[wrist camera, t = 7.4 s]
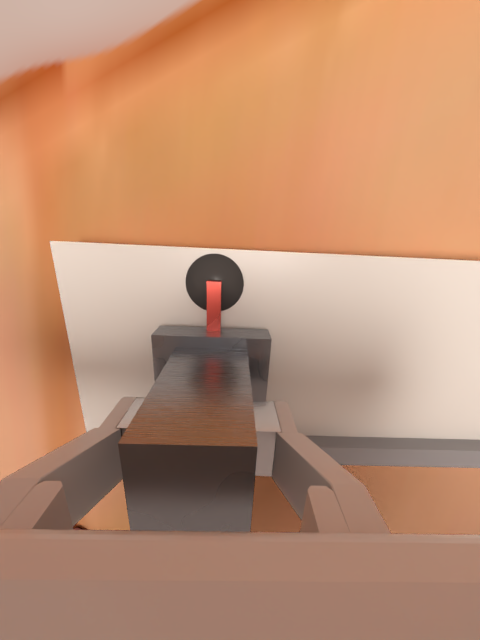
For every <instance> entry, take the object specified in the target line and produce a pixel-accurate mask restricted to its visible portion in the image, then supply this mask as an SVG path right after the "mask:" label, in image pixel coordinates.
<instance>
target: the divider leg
mask: <svg viewBox="0 0 480 640" xmlns="http://www.w3.org/2000/svg"><path fill="white" fill-rule="evenodd" d="M221 293H222V281H220V280H207V327H188V326H161V325H160V326H159V327H158V328H157V329H156V330H155V331H154V332H153V333H152V334H151V341H152V354H153V367H154V380H155V383H154V384H153V386H152V388H151V389H150V391H149V393H148V394H147V396H146V398H145V399H144V401H143V403H142V404H141V406H140V408H139V409H138V411H137V413H136V414H135V416H134V417H133V419H132V421H131V422H130V424H129V426H128V427H127V429H126V431H125V432H124V434H123V436H122V437H121V439H120V441H119V442H118V448H119V455H120V462H121V469H122V476H123V482H124V489H125V496H126V503H127V510H128V517H129V524H130V530H137V531H224V532H250V529H251V518H252V506H253V494H254V483H255V471H256V460H257V448H258V445H257V436H256V427H255V417H254V408H253V401H266V395H267V384H268V374H269V363H270V352H271V342H272V339H271V336H270V334H269V331H268V329H241V328H221Z"/></svg>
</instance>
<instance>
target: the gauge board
mask: <svg viewBox="0 0 480 640" xmlns="http://www.w3.org/2000/svg"><path fill="white" fill-rule="evenodd" d="M50 246H51V251H52V256H53V261H54V266H55V272H56V277H57V282H58V287H59V292H60V298H61V303H62V308H63V313H64V318H65V324H66V329H67V334H68V339H69V344H70V350H71V355H72V360H73V365H74V370H75V376H76V381H77V386H78V391H79V396H80V402H81V407H82V412H83V417H84V422H85V427H86V432H88V431H89V430H91V429H93V428H99V427H100V426H101V424H102V423H103V422H104V420H105V419H106V418H107V416H108V415H109V414H110V412H111V411H112V410H113V409H114V407H115V406H116V405H117V403H118V402H119V401H120V399H121V398H123V397H125V396H127V397H146V396H147V394H148V393H149V391H150V389H151V388H152V386H153V384H154V383H155V380H154V367H153V354H152V341H151V334H152V333H153V332H154V331H155V330H156V329H157V328H158V327H159V326H160V325H161V326H188V327H207V280H220V281H222V293H221V328H241V329H268V331H269V334H270V336H271V339H272V342H271V352H270V363H269V374H268V384H267V395H266V401H287V402H288V405H289V408H290V411H291V414H292V417H293V420H294V422H295V425H296V428H297V431H298V433H303V434H304V435H305V436H306V437H307V438H309V439H310V440H311V441H312V442H313V443H315V444H316V445H317V446H318V447H319V448H321V449H322V450H323V451H324V452H325V453H327V454H328V455H329V456H330V457H331V458H333V459H334V460H335V461H336V462H337V463H339V464H340V465H362V466H411V467H459V468H480V261H476V260H455V259H434V258H412V257H391V256H370V255H349V254H327V253H306V252H285V251H264V250H242V249H221V248H200V247H178V246H157V245H136V244H115V243H93V242H68V241H50Z"/></svg>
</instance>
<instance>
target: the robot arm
mask: <svg viewBox="0 0 480 640" xmlns="http://www.w3.org/2000/svg"><path fill="white" fill-rule="evenodd" d="M145 398H146V397H127V396H125V397H123V398H121V399H120V401H119V402H118V403H117V405H116V406H115V407H114V409H113V410H112V411H111V412H110V414H109V415H108V416H107V418H106V419H105V420H104V422H103V423H102V424H101V426H100V427H99V428H93V429H91V430H89V431H88V432H86V433H84V434H82V435H80V436H79V437H77V438H75V439H73V440H72V441H70V442H68V443H66V444H64V445H63V446H61V447H59V448H57V449H55V450H54V451H52V452H50V453H48V454H46V455H45V456H43V457H41V458H39V459H37V460H36V461H34V462H32V463H30V464H28V465H27V466H25V467H23V468H21V469H19V470H18V471H16V472H14V473H12V474H10V475H9V476H7V477H5V478H3V479H2V480H1V481H0V640H480V535H470V534H391V533H390V531H389V529H388V527H387V525H386V523H385V522H384V520H383V518H382V516H381V514H380V512H379V510H378V509H377V507H376V505H375V503H374V501H373V499H372V497H371V496H370V494H369V492H368V490H367V488H366V486H365V485H364V484H363V483H361V482H360V481H359V480H358V479H357V478H355V477H354V476H353V475H352V474H351V473H349V472H348V471H347V470H346V469H345V468H343V467H342V466H341V465H340V464H339V463H337V462H336V461H335V460H334V459H333V458H331V457H330V456H329V455H328V454H327V453H325V452H324V451H323V450H322V449H321V448H319V447H318V446H317V445H316V444H315V443H313V442H312V441H311V440H310V439H309V438H307V437H306V436H305V435H304V434H303V433H298V431H297V428H296V425H295V422H294V420H293V417H292V414H291V411H290V408H289V405H288V402H287V401H253V408H254V417H255V427H256V436H257V445H258V448H257V460H256V471H255V476H272V479H273V480H274V482H275V483H276V485H277V486H278V487H279V489H280V490H281V492H282V493H283V495H284V496H285V497H286V499H287V500H288V502H289V503H290V505H291V506H292V508H293V509H294V510H295V512H296V513H297V515H298V516H299V518H300V519H301V521H302V523H301V528H300V532H224V531H137V530H74V529H73V526H74V525H75V524H76V523H77V522H78V521H79V520H80V519H82V518H83V517H84V516H85V515H86V514H87V513H88V512H89V511H90V510H91V509H92V508H93V507H94V506H95V505H96V504H97V503H98V502H99V501H100V500H101V499H102V498H103V497H104V496H105V495H106V494H108V493H109V492H110V491H111V490H112V489H113V488H114V487H115V486H116V485H117V484H118V483H119V482H120V481H121V480H122V479H123V476H122V469H121V462H120V455H119V448H118V442H119V441H120V439H121V437H122V436H123V434H124V432H125V431H126V429H127V427H128V426H129V424H130V422H131V421H132V419H133V417H134V416H135V414H136V413H137V411H138V409H139V408H140V406H141V404H142V403H143V401H144V399H145Z"/></svg>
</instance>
